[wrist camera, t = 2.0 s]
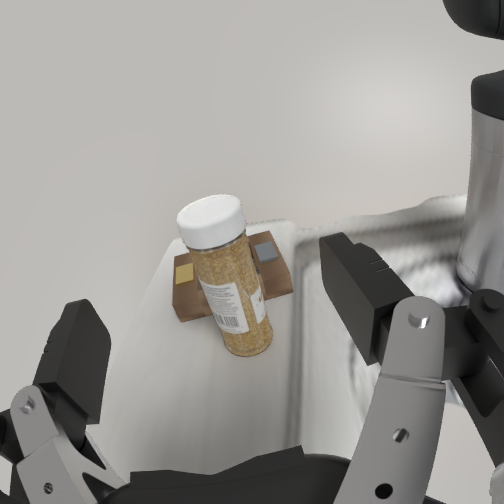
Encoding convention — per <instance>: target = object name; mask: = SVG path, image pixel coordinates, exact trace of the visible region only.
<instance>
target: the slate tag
mask: <svg viewBox="0 0 504 504" xmlns="http://www.w3.org/2000/svg"><path fill="white" fill-rule="evenodd" d="M254 247H255V250H256V253H257V256H258V258H259V261H260V263H264V262H268V261H271V260H275V259H278V255H277V252H276V250H275V248H274V246H273V244H272V242H271V241H270V242H266V243H262V244H259V245H255V246H254Z"/></svg>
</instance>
